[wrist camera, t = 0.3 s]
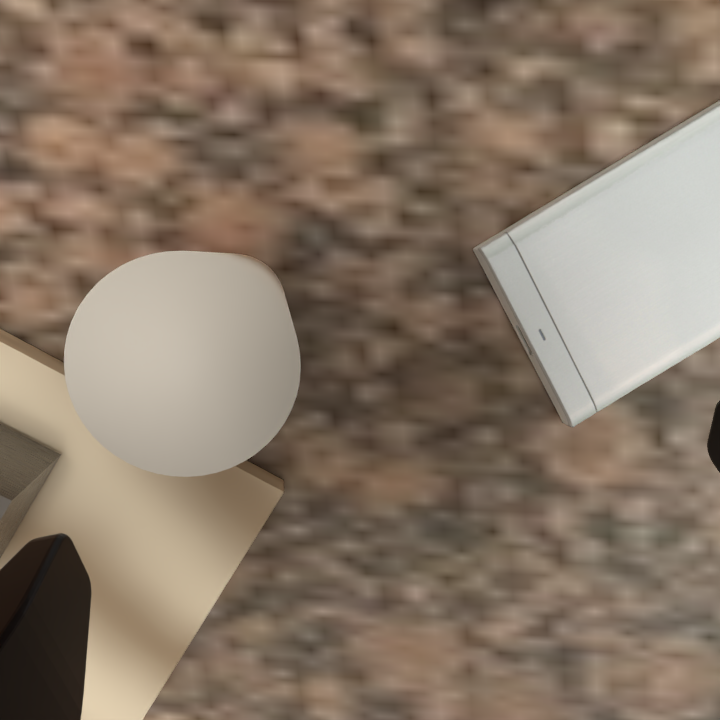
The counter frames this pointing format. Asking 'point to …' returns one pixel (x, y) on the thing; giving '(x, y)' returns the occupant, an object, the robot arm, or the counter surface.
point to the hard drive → (617, 270)
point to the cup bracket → (20, 479)
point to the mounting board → (129, 536)
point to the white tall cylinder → (184, 361)
